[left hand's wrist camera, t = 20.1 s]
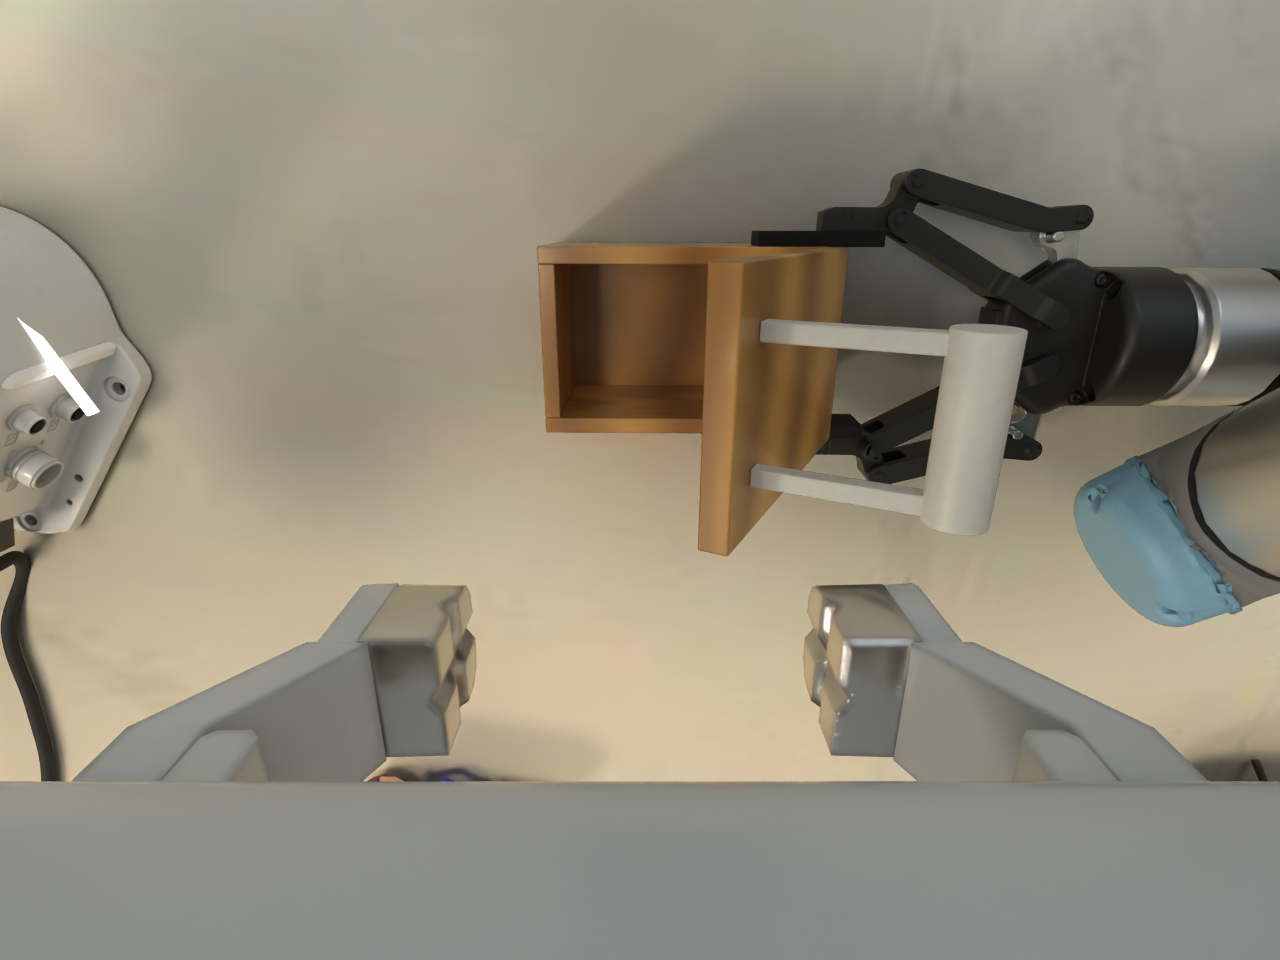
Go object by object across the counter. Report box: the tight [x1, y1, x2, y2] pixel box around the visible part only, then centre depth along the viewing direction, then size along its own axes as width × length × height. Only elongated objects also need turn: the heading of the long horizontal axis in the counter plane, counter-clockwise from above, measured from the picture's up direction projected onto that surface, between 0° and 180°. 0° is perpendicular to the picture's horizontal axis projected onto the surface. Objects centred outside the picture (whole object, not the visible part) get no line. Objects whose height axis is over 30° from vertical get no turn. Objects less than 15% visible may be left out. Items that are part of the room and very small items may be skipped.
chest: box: [537, 242, 833, 433], centre depth 40 cm, size 15×10×9 cm, turn 90°
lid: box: [698, 247, 1028, 556], centre depth 27 cm, size 16×10×9 cm
